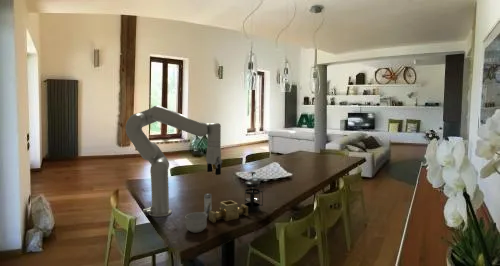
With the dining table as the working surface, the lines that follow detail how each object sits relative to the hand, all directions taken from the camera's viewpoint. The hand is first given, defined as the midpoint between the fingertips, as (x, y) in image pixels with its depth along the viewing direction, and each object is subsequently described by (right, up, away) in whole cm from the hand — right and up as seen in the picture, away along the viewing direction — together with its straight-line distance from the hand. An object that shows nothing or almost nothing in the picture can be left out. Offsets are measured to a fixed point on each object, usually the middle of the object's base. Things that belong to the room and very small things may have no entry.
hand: (213, 173), depth 196 cm
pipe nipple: (-3, -23, -5) cm, 24 cm away
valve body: (+9, -24, -9) cm, 27 cm away
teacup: (-5, -26, -26) cm, 37 cm away
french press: (+23, -23, +5) cm, 33 cm away
